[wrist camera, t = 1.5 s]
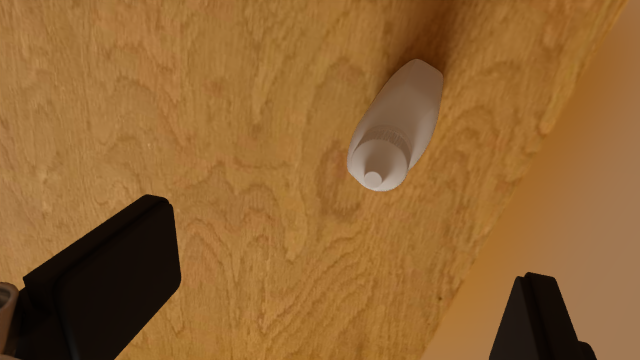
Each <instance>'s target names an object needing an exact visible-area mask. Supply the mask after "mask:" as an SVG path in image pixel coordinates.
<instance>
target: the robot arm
mask: <svg viewBox="0 0 640 360" xmlns="http://www.w3.org/2000/svg"><path fill="white" fill-rule="evenodd" d="M23 281H24V284H25V287H24V288H23V289H22V290H20V291H19V290H18V289H17V288H16V286H15V285H13V284H10V283H7V282H0V360H114V359H115V358H116V357H117V356H118V355H119V354H120V353H121V351H122V350H123V349H124V348H125V347H126V346H127V345H128V344H129V343H130V341H131V340H132V339H133V338H134V337H135V336H136V335H137V334H138V333H139V331H140V330H141V329H142V328H143V327H144V326H145V325H146V324H147V323H148V321H149V320H150V319H151V318H152V317H153V316H154V315H155V314H156V313H157V312H158V310H159V309H160V308H161V307H162V306H163V305H164V304H165V303H166V302H167V300H168V299H169V298H170V297H171V296H172V295H173V294H174V293H175V292H176V290H177V289H178V287H179V286H180V283H181V271H180V262H179V254H178V245H177V237H176V228H175V220H174V211H173V207H172V205H171V204H169V201H168V200H167V199H166V198H164V197H159V196H154V195H149V194H146V195H144V196H142V197H141V198H139V199H138V200H136V201H135V202H133V203H132V204H130V205H129V206H127V207H126V208H124V209H123V210H121V211H120V212H118V213H117V214H115V215H114V216H113V217H111V218H110V219H108V220H107V221H105V222H104V223H102V224H101V225H99V226H98V227H96V228H95V229H93V230H92V231H90V232H89V233H87V234H86V235H84V236H83V237H82V238H80V239H79V240H77V241H76V242H74V243H73V244H71V245H70V246H68V247H67V248H65V249H64V250H62V251H61V252H59V253H58V254H56V255H55V256H54V257H52V258H51V259H49V260H48V261H46V262H45V263H43V264H42V265H40V266H39V267H37V268H36V269H34V270H33V271H31V272H30V273H28V274H27V275H25V276H24V277H23ZM489 360H597V359H596V356H595V354H594V351H593V350H592V348H591V346H590V345H589V344H588V343H585V342H581V341H578V339H577V336H576V333H575V331H574V328H573V325H572V323H571V319H570V317H569V314H568V311H567V309H566V306H565V303H564V301H563V298H562V295H561V292H560V290H559V287H558V284H557V281H556V279H555V278H554V277H550V276H546V275H541V274H536V273H531V272H527V273H526V274H525V276H524V277H520V276H517V277H516V279H515V281H514V285H513V288H512V290H511V294H510V296H509V300H508V302H507V306H506V308H505V311H504V314H503V317H502V320H501V323H500V326H499V329H498V332H497V335H496V338H495V341H494V344H493V347H492V350H491V353H490V356H489Z"/></svg>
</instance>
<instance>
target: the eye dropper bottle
mask: <svg viewBox="0 0 640 360" xmlns="http://www.w3.org/2000/svg"><path fill="white" fill-rule="evenodd" d="M442 88H443V75H442V74H441V72H440V71H438V70H437V69H435V68H434V67H432V66H431V65H429V64H427V63H426V62H424V61H422V60H420V59H414V60H411V61H409V62H408V63H406V64H405V65H404V66H402V67H401V68H400V69H399V70H398V71H397V72H395V73H394V74H393V76H392V77H391V78H390V79H389V80H388V81H387V83H386V84H385V85H384V87H383V88H382V89H381V91H380V92H379V94H378V95H377V97H376V98H375V100H374V101H373V102H372V104H371V105H370V107H369V108H368V110H367V111H366V113H365V114H364V116H363V117H362V119H361V120H360V122H359V124H358V125H357V127H356V129H355V131H354V134H353V136H352V139H351V142H350V146H349V150H348V157H347V167H348V171H349V172H350V174H351V175H352V176H354V177H355V178H356V179H357V180H358V182H360V184H362V185H363V186H365V187H367V188H369V189H372V190H375V191H385V190H386V191H388V190H391V189H393V188H396V187H397V186H398V185H400V183H402V181H404V178H406V176H407V173H408V171H409V170H410V169H411V168H412V167H413V166H414V165H415V163H416V162H417V161H418V160H419V158H420V157H421V156H422V154H423V153H424V151H425V149H426V147H427V146H428V144H429V142H430V139H431V137H432V135H433V132H434V129H435V126H436V123H437V119H438V114H439V109H440V103H441V96H442Z"/></svg>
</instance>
